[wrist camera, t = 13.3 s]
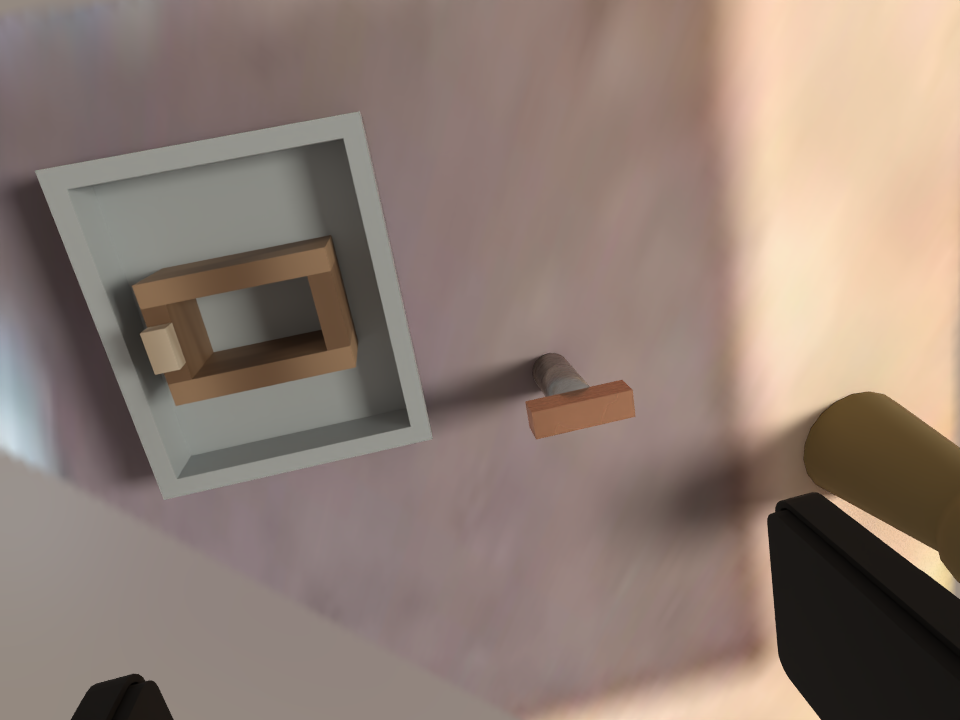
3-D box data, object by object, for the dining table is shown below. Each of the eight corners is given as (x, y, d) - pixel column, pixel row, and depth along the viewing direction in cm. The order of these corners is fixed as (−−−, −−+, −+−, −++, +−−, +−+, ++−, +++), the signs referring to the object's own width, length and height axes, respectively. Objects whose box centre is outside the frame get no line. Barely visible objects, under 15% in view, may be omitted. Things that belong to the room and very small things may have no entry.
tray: (428, 414, 31) (432, 439, 29) (182, 469, 30) (163, 500, 28) (361, 114, 27) (359, 111, 24) (70, 167, 26) (34, 170, 23)
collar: (331, 235, 27) (323, 250, 23) (358, 341, 29) (355, 373, 25) (162, 268, 27) (123, 290, 23) (199, 375, 28) (169, 414, 24)
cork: (807, 506, 36) (979, 650, 26) (799, 410, 34) (981, 525, 24) (907, 474, 37) (1116, 604, 26) (905, 378, 35) (1130, 477, 24)
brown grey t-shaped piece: (594, 378, 32) (635, 423, 27) (511, 397, 32) (537, 445, 26) (590, 344, 31) (631, 383, 26) (505, 362, 31) (530, 405, 26)
